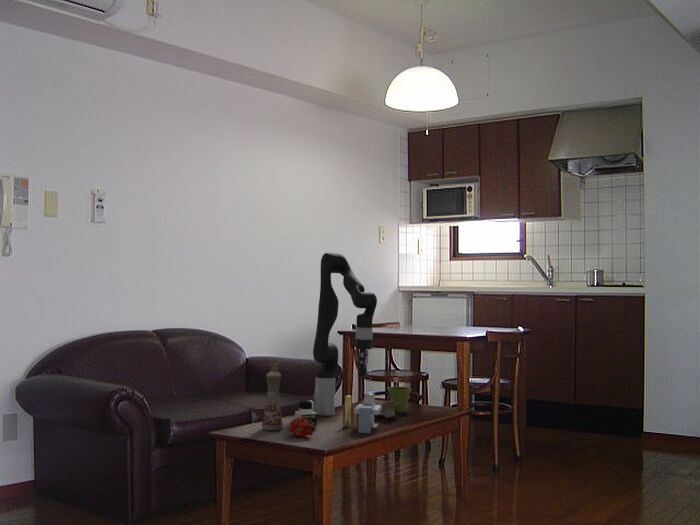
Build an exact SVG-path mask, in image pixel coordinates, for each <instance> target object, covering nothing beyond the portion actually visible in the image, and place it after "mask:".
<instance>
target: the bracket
mask: <svg viewBox="0 0 700 525" xmlns="http://www.w3.org/2000/svg"><path fill="white" fill-rule="evenodd" d="M361 404H362V405H361V406H360V407H359V414H358V433H363V434H371V433H372V428H371V411H372V409H373V408H374V404H364V403H361Z"/></svg>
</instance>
